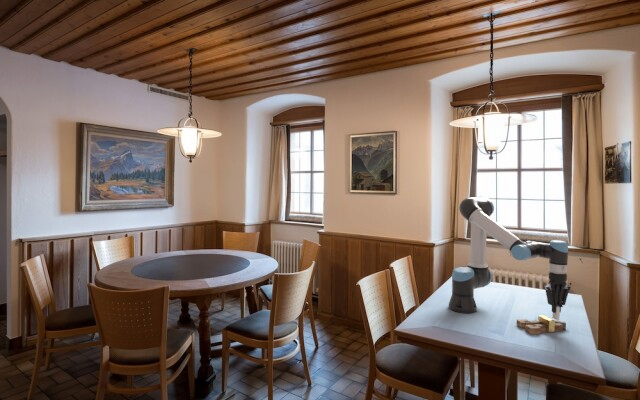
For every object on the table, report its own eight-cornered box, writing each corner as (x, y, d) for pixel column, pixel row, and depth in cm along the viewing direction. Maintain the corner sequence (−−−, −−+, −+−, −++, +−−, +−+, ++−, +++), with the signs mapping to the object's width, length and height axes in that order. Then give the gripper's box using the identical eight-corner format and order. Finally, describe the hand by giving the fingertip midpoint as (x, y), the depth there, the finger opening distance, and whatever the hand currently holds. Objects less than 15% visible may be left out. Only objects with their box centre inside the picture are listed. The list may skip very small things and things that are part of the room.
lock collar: (538, 326, 180) (538, 315, 180) (543, 325, 180) (543, 315, 180) (549, 332, 173) (549, 321, 173) (554, 331, 173) (555, 320, 173)
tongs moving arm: (516, 324, 183) (516, 319, 182) (558, 324, 183) (559, 319, 183) (523, 329, 176) (523, 324, 176) (567, 328, 177) (567, 323, 177)
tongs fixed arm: (524, 330, 176) (525, 324, 175) (559, 328, 178) (559, 323, 178) (530, 334, 171) (531, 328, 171) (565, 332, 173) (566, 326, 173)
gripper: (551, 274, 171) (549, 322, 172) (576, 273, 172) (574, 321, 174) (540, 270, 178) (538, 316, 180) (563, 269, 180) (561, 315, 181)
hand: (555, 318), depth 177 cm, fingers closed
